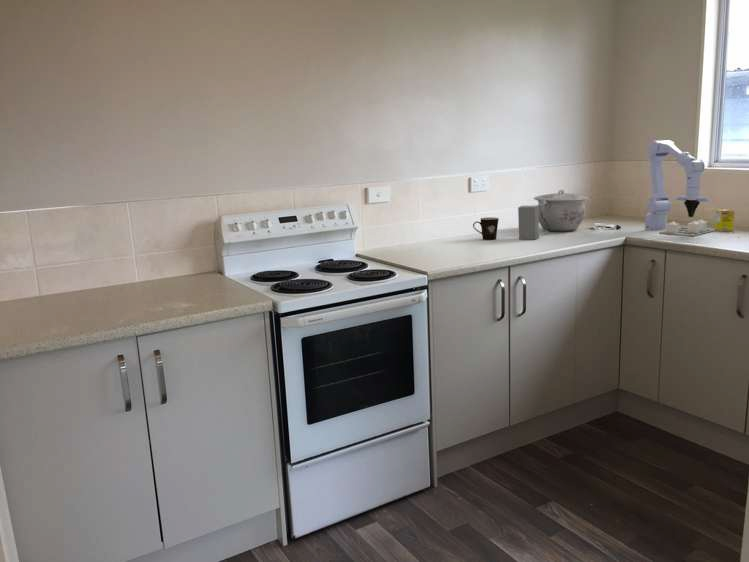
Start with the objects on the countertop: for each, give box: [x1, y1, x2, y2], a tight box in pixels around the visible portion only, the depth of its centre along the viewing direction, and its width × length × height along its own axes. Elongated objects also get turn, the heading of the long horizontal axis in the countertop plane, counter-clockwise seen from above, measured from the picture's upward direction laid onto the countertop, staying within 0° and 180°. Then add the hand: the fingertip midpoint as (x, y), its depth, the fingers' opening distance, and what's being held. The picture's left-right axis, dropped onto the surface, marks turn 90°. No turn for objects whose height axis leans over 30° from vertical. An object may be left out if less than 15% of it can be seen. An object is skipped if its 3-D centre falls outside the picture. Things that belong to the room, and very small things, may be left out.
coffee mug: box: [472, 216, 500, 241], centre depth 319 cm, size 12×9×10 cm
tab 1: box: [665, 221, 680, 234], centre depth 310 cm, size 4×4×5 cm
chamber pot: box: [533, 189, 590, 233], centre depth 341 cm, size 28×28×21 cm
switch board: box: [658, 226, 718, 238], centre depth 312 cm, size 16×24×2 cm, turn 130°
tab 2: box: [696, 219, 708, 231], centre depth 314 cm, size 4×4×5 cm
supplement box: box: [714, 209, 735, 232], centre depth 315 cm, size 6×6×11 cm
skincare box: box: [517, 204, 540, 240], centre depth 315 cm, size 8×7×16 cm
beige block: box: [686, 220, 700, 233], centre depth 310 cm, size 4×4×5 cm
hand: (691, 216), depth 306 cm, fingers closed
